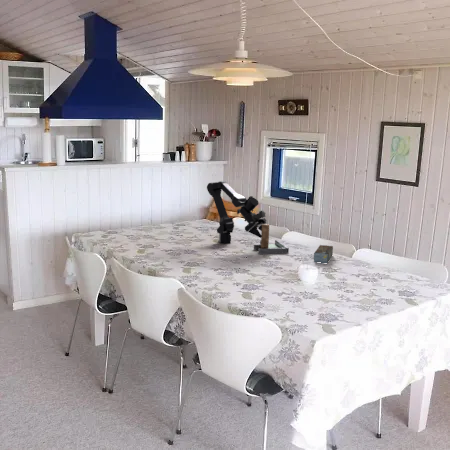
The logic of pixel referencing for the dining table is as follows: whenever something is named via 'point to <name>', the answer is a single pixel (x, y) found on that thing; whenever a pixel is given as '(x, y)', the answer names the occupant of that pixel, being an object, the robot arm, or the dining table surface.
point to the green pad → (272, 246)
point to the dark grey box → (323, 254)
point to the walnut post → (265, 236)
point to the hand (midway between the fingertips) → (264, 235)
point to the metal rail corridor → (281, 248)
